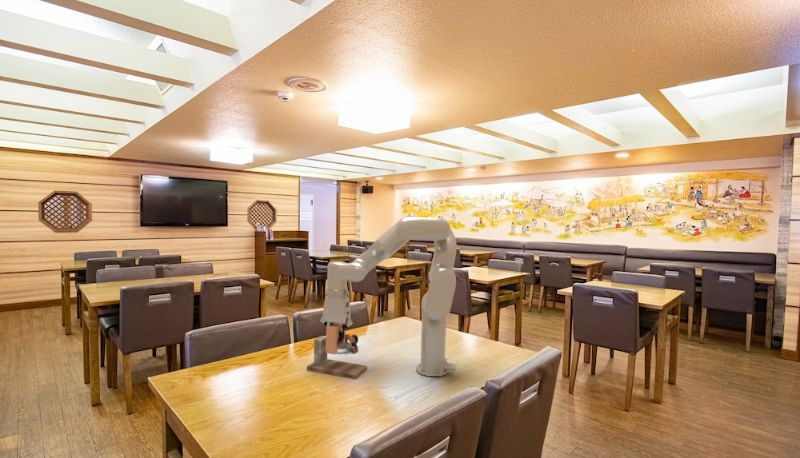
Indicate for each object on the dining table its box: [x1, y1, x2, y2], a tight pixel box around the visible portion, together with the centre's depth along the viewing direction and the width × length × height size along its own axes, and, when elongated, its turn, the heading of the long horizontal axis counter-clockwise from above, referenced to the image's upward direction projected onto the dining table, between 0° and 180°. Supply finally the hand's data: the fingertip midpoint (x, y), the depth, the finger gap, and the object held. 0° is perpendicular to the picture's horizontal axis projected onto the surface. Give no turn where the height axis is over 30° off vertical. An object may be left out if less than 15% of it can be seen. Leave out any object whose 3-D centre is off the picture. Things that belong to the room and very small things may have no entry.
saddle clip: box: [325, 323, 346, 355], centre depth 149 cm, size 4×8×10 cm, turn 160°
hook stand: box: [306, 335, 368, 380], centre depth 149 cm, size 21×10×12 cm, turn 70°
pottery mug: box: [345, 333, 359, 354], centre depth 173 cm, size 12×10×8 cm
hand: (335, 339), depth 149 cm, fingers closed on saddle clip, 3 cm apart
